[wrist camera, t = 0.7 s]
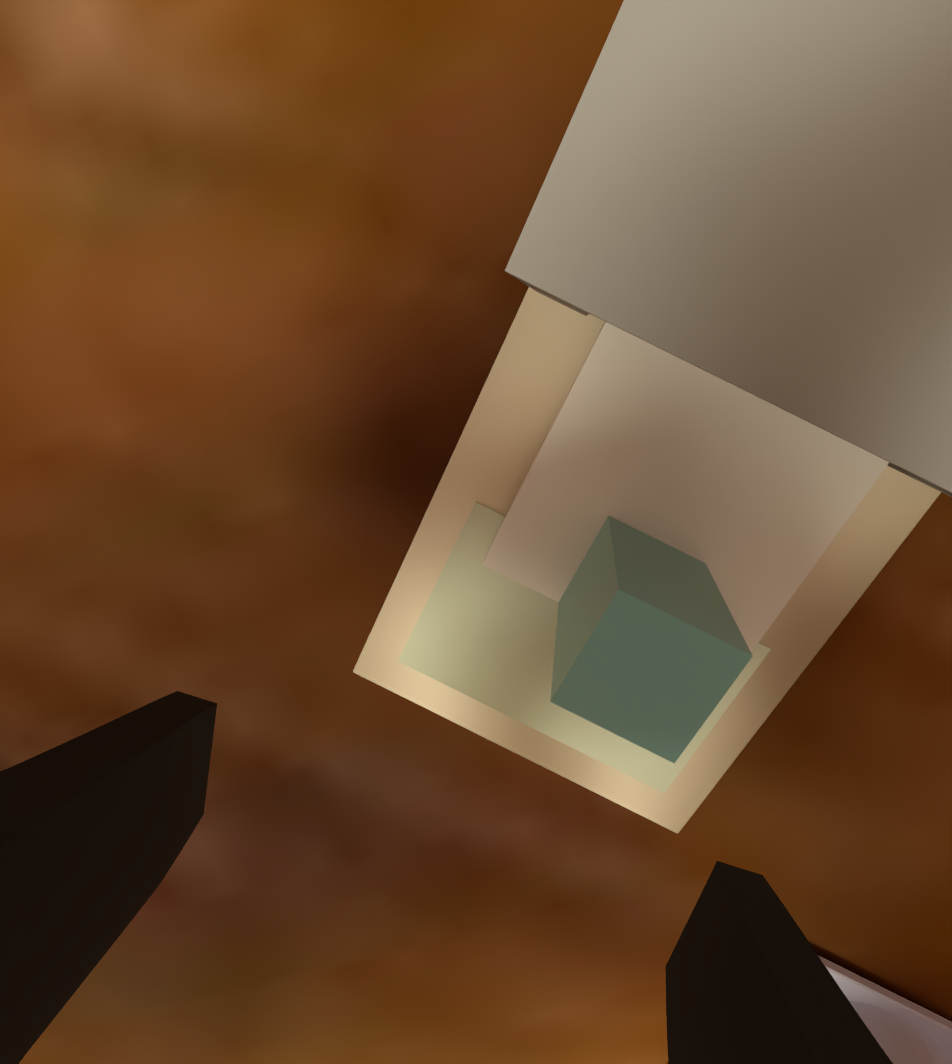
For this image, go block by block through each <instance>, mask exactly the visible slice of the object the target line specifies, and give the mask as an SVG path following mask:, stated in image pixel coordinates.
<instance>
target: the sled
mask: <svg viewBox="0 0 952 1064" xmlns="http://www.w3.org/2000/svg"><path fill="white" fill-rule="evenodd" d="M888 463H889V462H888V461H886V460H884V459H882V458H880V457H878V456H876V455H874V454H872V453H870V452H868V451H866V450H864V449H862V448H860V447H858V446H856V445H854V444H852V443H850V442H848V441H846V440H844V439H842V438H839V437H837V436H835V435H833V434H831V433H829V432H827V431H825V430H823V429H821V428H819V427H817V426H815V425H813V424H811V423H809V422H807V421H805V420H803V419H801V418H799V417H797V416H795V415H793V414H791V413H789V412H787V411H785V410H783V409H781V408H779V407H777V406H775V405H773V404H771V403H769V402H767V401H765V400H763V399H761V398H759V397H757V396H755V395H753V394H751V393H749V392H747V391H745V390H743V389H741V388H739V387H737V386H735V385H733V384H731V383H729V382H727V381H724V380H722V379H720V378H718V377H716V376H714V375H712V374H710V373H708V372H706V371H704V370H702V369H700V368H698V367H696V366H694V365H692V364H690V363H688V362H686V361H684V360H682V359H680V358H678V357H676V356H674V355H672V354H670V353H668V352H666V351H664V350H662V349H660V348H658V347H656V346H654V345H652V344H650V343H648V342H646V341H644V340H642V339H640V338H638V337H636V336H634V335H632V334H630V333H628V332H626V331H624V330H622V329H620V328H618V327H616V326H614V325H612V324H609V323H607V322H604V324H603V326H602V328H601V330H600V332H599V334H598V336H597V338H596V340H595V342H594V344H593V345H592V347H591V349H590V351H589V353H588V355H587V357H586V359H585V361H584V363H583V365H582V367H581V369H580V371H579V373H578V375H577V377H576V379H575V381H574V383H573V385H572V387H571V389H570V391H569V393H568V395H567V397H566V398H565V400H564V402H563V404H562V406H561V408H560V410H559V412H558V414H557V416H556V418H555V420H554V422H553V424H552V426H551V428H550V430H549V432H548V434H547V436H546V438H545V440H544V442H543V444H542V446H541V448H540V450H539V451H538V453H537V455H536V457H535V459H534V461H533V463H532V465H531V467H530V469H529V471H528V473H527V475H526V477H525V479H524V481H523V483H522V485H521V487H520V489H519V491H518V493H517V495H516V497H515V499H514V501H513V503H512V505H511V506H510V508H509V510H508V512H507V514H506V516H505V518H504V520H503V522H502V524H501V526H500V528H499V530H498V532H497V534H496V536H495V538H494V540H493V542H492V544H491V546H490V548H489V550H488V552H487V554H486V556H485V559H484V561H483V563H482V565H484V566H486V567H488V568H490V569H492V570H494V571H496V572H498V573H500V574H502V575H504V576H506V577H508V578H510V579H512V580H514V581H517V582H519V583H521V584H523V585H525V586H527V587H529V588H531V589H533V590H535V591H537V592H539V593H541V594H543V595H545V596H547V597H549V598H551V599H553V600H555V601H557V602H559V603H558V615H557V627H556V639H555V651H554V662H553V674H552V686H551V698H550V702H552V703H554V704H556V705H558V706H560V707H562V708H564V709H566V710H568V711H570V712H572V713H574V714H576V715H578V716H580V717H582V718H584V719H586V720H588V721H590V722H592V723H594V724H596V725H598V726H600V727H602V728H604V729H606V730H608V731H610V732H612V733H614V734H616V735H618V736H620V737H622V738H624V739H626V740H628V741H630V742H632V743H634V744H636V745H638V746H640V747H642V748H644V749H646V750H648V751H650V752H652V753H654V754H656V755H658V756H660V757H662V758H664V759H666V760H668V761H670V762H672V763H674V764H675V762H676V761H677V759H678V758H679V757H680V755H681V754H682V753H683V751H684V750H685V749H686V747H687V746H688V744H689V743H690V742H691V740H692V739H693V738H694V736H695V735H696V733H697V732H698V731H699V729H700V728H701V727H702V725H703V724H704V722H705V721H706V720H707V718H708V717H709V716H710V714H711V713H712V711H713V710H714V709H715V707H716V706H717V705H718V703H719V702H720V700H721V699H722V698H723V696H724V695H725V694H726V692H727V691H728V690H729V688H730V687H731V685H732V684H733V683H734V681H735V680H736V679H737V677H738V676H739V674H740V673H741V672H742V670H743V669H744V668H745V666H746V665H747V663H748V662H749V661H750V659H751V658H752V657H753V655H752V653H751V652H752V651H753V649H754V648H755V647H756V645H757V644H758V643H759V641H760V640H761V638H762V637H763V636H764V634H765V633H766V631H767V630H768V629H769V627H770V626H771V625H772V623H773V622H774V620H775V619H776V618H777V616H778V615H779V614H780V612H781V611H782V609H783V608H784V607H785V605H786V604H787V603H788V601H789V600H790V598H791V597H792V596H793V594H794V593H795V592H796V590H797V589H798V587H799V586H800V585H801V583H802V582H803V581H804V579H805V578H806V576H807V575H808V574H809V572H810V571H811V570H812V568H813V567H814V565H815V564H816V563H817V561H818V560H819V558H820V557H821V556H822V554H823V553H824V552H825V550H826V549H827V547H828V546H829V545H830V543H831V542H832V541H833V539H834V538H835V536H836V535H837V534H838V532H839V531H840V530H841V528H842V527H843V525H844V524H845V523H846V521H847V520H848V519H849V517H850V516H851V514H852V513H853V512H854V510H855V509H856V508H857V506H858V505H859V503H860V502H861V501H862V499H863V498H864V496H865V495H866V494H867V492H868V491H869V490H870V488H871V487H872V485H873V484H874V483H875V481H876V480H877V479H878V477H879V476H880V474H881V473H882V472H883V470H884V469H885V468H886V466H887V465H888Z"/></svg>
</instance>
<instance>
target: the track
mask: <svg viewBox="0 0 952 1064" xmlns="http://www.w3.org/2000/svg"><path fill="white" fill-rule="evenodd" d="M505 271H506V272H507V273H509V274H510V275H512V276H513V277H515V278H517V279H518V280H520V281H521V282H523V283H524V284H526V285H527V286H529V288H528V290H527V293H526V295H525V297H524V299H523V301H522V304H521V306H520V308H519V310H518V312H517V314H516V317H515V319H514V321H513V323H512V325H511V328H510V330H509V332H508V334H507V336H506V338H505V341H504V343H503V345H502V347H501V349H500V352H499V354H498V356H497V358H496V360H495V362H494V365H493V367H492V369H491V371H490V373H489V376H488V378H487V380H486V382H485V384H484V386H483V389H482V391H481V393H480V395H479V397H478V400H477V402H476V404H475V406H474V408H473V410H472V413H471V415H470V417H469V419H468V421H467V424H466V426H465V428H464V430H463V432H462V434H461V437H460V439H459V441H458V443H457V445H456V448H455V450H454V452H453V454H452V456H451V459H450V461H449V463H448V465H447V467H446V469H445V472H444V474H443V476H442V478H441V480H440V483H439V485H438V487H437V489H436V491H435V493H434V496H433V498H432V500H431V502H430V504H429V507H428V509H427V511H426V513H425V515H424V517H423V520H422V522H421V524H420V526H419V528H418V531H417V533H416V535H415V537H414V539H413V541H412V544H411V546H410V548H409V550H408V552H407V555H406V557H405V559H404V561H403V563H402V565H401V568H400V570H399V572H398V574H397V576H396V579H395V581H394V583H393V585H392V587H391V589H390V592H389V594H388V596H387V598H386V600H385V603H384V605H383V607H382V609H381V611H380V613H379V616H378V618H377V620H376V622H375V624H374V627H373V629H372V631H371V633H370V635H369V637H368V640H367V642H366V644H365V646H364V648H363V651H362V653H361V655H360V657H359V659H358V662H357V664H356V666H355V668H354V670H353V672H354V673H356V674H358V675H360V676H362V677H364V678H366V679H368V680H370V681H372V682H374V683H376V684H378V685H380V686H382V687H384V688H386V689H388V690H390V691H392V692H394V693H396V694H398V695H400V696H402V697H404V698H406V699H408V700H410V701H412V702H414V703H416V704H418V705H420V706H422V707H424V708H426V709H428V710H430V711H432V712H434V713H436V714H438V715H440V716H442V717H444V718H446V719H448V720H450V721H452V722H454V723H456V724H458V725H460V726H462V727H464V728H466V729H468V730H470V731H472V732H474V733H476V734H478V735H480V736H482V737H484V738H486V739H489V740H491V741H493V742H495V743H497V744H499V745H501V746H503V747H505V748H507V749H509V750H511V751H513V752H515V753H517V754H519V755H521V756H523V757H525V758H527V759H529V760H531V761H533V762H535V763H537V764H539V765H541V766H543V767H545V768H547V769H549V770H551V771H553V772H555V773H557V774H559V775H561V776H563V777H565V778H567V779H569V780H571V781H573V782H575V783H577V784H579V785H581V786H583V787H585V788H587V789H589V790H591V791H593V792H595V793H597V794H599V795H601V796H603V797H605V798H607V799H609V800H611V801H613V802H615V803H617V804H619V805H621V806H623V807H625V808H627V809H629V810H631V811H633V812H635V813H637V814H639V815H641V816H643V817H645V818H647V819H649V820H651V821H653V822H655V823H657V824H659V825H661V826H663V827H665V828H667V829H669V830H671V831H673V832H675V833H677V834H678V833H679V831H680V830H681V829H682V828H683V826H684V825H685V824H686V822H687V821H688V820H689V818H690V817H691V816H692V815H693V813H694V812H695V811H696V809H697V808H698V807H699V806H700V804H701V803H702V802H703V800H704V799H705V798H706V796H707V795H708V794H709V793H710V791H711V790H712V789H713V787H714V786H715V785H716V783H717V782H718V781H719V780H720V778H721V777H722V776H723V774H724V773H725V772H726V771H727V769H728V768H729V767H730V765H731V764H732V763H733V761H734V760H735V759H736V758H737V756H738V755H739V754H740V752H741V751H742V750H743V748H744V747H745V746H746V745H747V743H748V742H749V741H750V739H751V738H752V737H753V736H754V734H755V733H756V732H757V730H758V729H759V728H760V726H761V725H762V724H763V723H764V721H765V720H766V719H767V717H768V716H769V715H770V714H771V712H772V711H773V710H774V708H775V707H776V706H777V704H778V703H779V702H780V701H781V699H782V698H783V697H784V695H785V694H786V693H787V691H788V690H789V689H790V688H791V686H792V685H793V684H794V682H795V681H796V680H797V679H798V677H799V676H800V675H801V673H802V672H803V671H804V669H805V668H806V667H807V666H808V664H809V663H810V662H811V660H812V659H813V658H814V656H815V655H816V654H817V653H818V651H819V650H820V649H821V647H822V646H823V645H824V644H825V642H826V641H827V640H828V638H829V637H830V636H831V634H832V633H833V632H834V631H835V629H836V628H837V627H838V625H839V624H840V623H841V621H842V620H843V619H844V618H845V616H846V615H847V614H848V612H849V611H850V610H851V609H852V607H853V606H854V605H855V603H856V602H857V601H858V599H859V598H860V597H861V596H862V594H863V593H864V592H865V590H866V589H867V588H868V586H869V585H870V584H871V583H872V581H873V580H874V579H875V577H876V576H877V575H878V574H879V572H880V571H881V570H882V568H883V567H884V566H885V564H886V563H887V562H888V561H889V559H890V558H891V557H892V555H893V554H894V553H895V551H896V550H897V549H898V548H899V546H900V545H901V544H902V542H903V541H904V540H905V539H906V537H907V536H908V535H909V533H910V532H911V531H912V529H913V528H914V527H915V526H916V524H917V523H918V522H919V520H920V519H921V518H922V516H923V515H924V514H925V513H926V511H927V510H928V509H929V507H930V506H931V505H932V504H933V502H934V501H935V500H936V498H937V497H938V496H939V494H940V493H941V492H942V493H944V494H946V495H948V496H951V497H952V0H624V1H623V4H622V6H621V8H620V10H619V13H618V15H617V17H616V20H615V22H614V24H613V26H612V29H611V31H610V33H609V35H608V38H607V40H606V42H605V45H604V47H603V49H602V51H601V54H600V56H599V58H598V60H597V63H596V65H595V67H594V69H593V72H592V74H591V76H590V79H589V81H588V83H587V85H586V88H585V90H584V92H583V94H582V97H581V99H580V101H579V103H578V106H577V108H576V110H575V113H574V115H573V117H572V119H571V122H570V124H569V126H568V128H567V131H566V133H565V135H564V138H563V140H562V142H561V144H560V147H559V149H558V151H557V153H556V156H555V158H554V160H553V162H552V165H551V167H550V169H549V172H548V174H547V176H546V178H545V181H544V183H543V185H542V187H541V190H540V192H539V194H538V197H537V199H536V201H535V203H534V206H533V208H532V210H531V212H530V215H529V217H528V219H527V221H526V224H525V226H524V228H523V231H522V233H521V235H520V237H519V240H518V242H517V244H516V246H515V249H514V251H513V253H512V255H511V258H510V260H509V262H508V265H507V267H506V269H505ZM604 322H607V323H609V324H612V325H614V326H616V327H618V328H620V329H622V330H624V331H626V332H628V333H630V334H632V335H634V336H636V337H638V338H640V339H642V340H644V341H646V342H648V343H650V344H652V345H654V346H656V347H658V348H660V349H662V350H664V351H666V352H668V353H670V354H672V355H674V356H676V357H678V358H680V359H682V360H684V361H686V362H688V363H690V364H692V365H694V366H696V367H698V368H700V369H702V370H704V371H706V372H708V373H710V374H712V375H714V376H716V377H718V378H720V379H722V380H724V381H727V382H729V383H731V384H733V385H735V386H737V387H739V388H741V389H743V390H745V391H747V392H749V393H751V394H753V395H755V396H757V397H759V398H761V399H763V400H765V401H767V402H769V403H771V404H773V405H775V406H777V407H779V408H781V409H783V410H785V411H787V412H789V413H791V414H793V415H795V416H797V417H799V418H801V419H803V420H805V421H807V422H809V423H811V424H813V425H815V426H817V427H819V428H821V429H823V430H825V431H827V432H829V433H831V434H833V435H835V436H837V437H839V438H842V439H844V440H846V441H848V442H850V443H852V444H854V445H856V446H858V447H860V448H862V449H864V450H866V451H868V452H870V453H872V454H874V455H876V456H878V457H880V458H882V459H884V460H886V461H888V462H889V463H888V465H887V466H886V468H885V469H884V470H883V472H882V473H881V474H880V476H879V477H878V479H877V480H876V481H875V483H874V484H873V485H872V487H871V488H870V490H869V491H868V492H867V494H866V495H865V496H864V498H863V499H862V501H861V502H860V503H859V505H858V506H857V508H856V509H855V510H854V512H853V513H852V514H851V516H850V517H849V519H848V520H847V521H846V523H845V524H844V525H843V527H842V528H841V530H840V531H839V532H838V534H837V535H836V536H835V538H834V539H833V541H832V542H831V543H830V545H829V546H828V547H827V549H826V550H825V552H824V553H823V554H822V556H821V557H820V558H819V560H818V561H817V563H816V564H815V565H814V567H813V568H812V570H811V571H810V572H809V574H808V575H807V576H806V578H805V579H804V581H803V582H802V583H801V585H800V586H799V587H798V589H797V590H796V592H795V593H794V594H793V596H792V597H791V598H790V600H789V601H788V603H787V604H786V605H785V607H784V608H783V609H782V611H781V612H780V614H779V615H778V616H777V618H776V619H775V620H774V622H773V623H772V625H771V626H770V627H769V629H768V630H767V631H766V633H765V634H764V636H763V637H762V638H761V640H760V641H759V643H758V644H757V645H756V647H755V648H754V649H753V651H752V652H751V653H752V655H753V657H752V658H751V659H750V661H749V662H748V663H747V665H746V666H745V668H744V669H743V670H742V672H741V673H740V674H739V676H738V677H737V679H736V680H735V681H734V683H733V684H732V685H731V687H730V688H729V690H728V691H727V692H726V694H725V695H724V696H723V698H722V699H721V700H720V702H719V703H718V705H717V706H716V707H715V709H714V710H713V711H712V713H711V714H710V716H709V717H708V718H707V720H706V721H705V722H704V724H703V725H702V727H701V728H700V729H699V731H698V732H697V733H696V735H695V736H694V738H693V739H692V740H691V742H690V743H689V744H688V746H687V747H686V749H685V750H684V751H683V753H682V754H681V755H680V757H679V758H678V759H677V761H676V762H675V764H674V763H672V762H670V761H668V760H666V759H664V758H662V757H660V756H658V755H656V754H654V753H652V752H650V751H648V750H646V749H644V748H642V747H640V746H638V745H636V744H634V743H632V742H630V741H628V740H626V739H624V738H622V737H620V736H618V735H616V734H614V733H612V732H610V731H608V730H606V729H604V728H602V727H600V726H598V725H596V724H594V723H592V722H590V721H588V720H586V719H584V718H582V717H580V716H578V715H576V714H574V713H572V712H570V711H568V710H566V709H564V708H562V707H560V706H558V705H556V704H554V703H552V702H550V698H551V686H552V674H553V662H554V651H555V639H556V627H557V615H558V603H559V602H557V601H555V600H553V599H551V598H549V597H547V596H545V595H543V594H541V593H539V592H537V591H535V590H533V589H531V588H529V587H527V586H525V585H523V584H521V583H519V582H517V581H514V580H512V579H510V578H508V577H506V576H504V575H502V574H500V573H498V572H496V571H494V570H492V569H490V568H488V567H486V566H484V565H482V563H483V561H484V559H485V556H486V554H487V552H488V550H489V548H490V546H491V544H492V542H493V540H494V538H495V536H496V534H497V532H498V530H499V528H500V526H501V524H502V522H503V520H504V518H505V516H506V514H507V512H508V510H509V508H510V506H511V505H512V503H513V501H514V499H515V497H516V495H517V493H518V491H519V489H520V487H521V485H522V483H523V481H524V479H525V477H526V475H527V473H528V471H529V469H530V467H531V465H532V463H533V461H534V459H535V457H536V455H537V453H538V451H539V450H540V448H541V446H542V444H543V442H544V440H545V438H546V436H547V434H548V432H549V430H550V428H551V426H552V424H553V422H554V420H555V418H556V416H557V414H558V412H559V410H560V408H561V406H562V404H563V402H564V400H565V398H566V397H567V395H568V393H569V391H570V389H571V387H572V385H573V383H574V381H575V379H576V377H577V375H578V373H579V371H580V369H581V367H582V365H583V363H584V361H585V359H586V357H587V355H588V353H589V351H590V349H591V347H592V345H593V344H594V342H595V340H596V338H597V336H598V334H599V332H600V330H601V328H602V326H603V324H604Z"/></svg>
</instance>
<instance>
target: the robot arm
mask: <svg viewBox="0 0 952 1064" xmlns="http://www.w3.org/2000/svg"><path fill="white" fill-rule="evenodd" d="M216 707H217V703H214V702H210V701H207V700H204V699H201V698H198V697H195V696H191V695H188V694H185V693H182V692H179V691H177V692H174V693H172V694H170V695H167V696H165V697H163V698H160V699H158V700H156V701H154V702H152V703H149V704H147V705H145V706H143V707H141V708H139V709H137V710H134V711H132V712H130V713H128V714H126V715H124V716H122V717H120V718H117V719H115V720H113V721H111V722H109V723H107V724H105V725H103V726H100V727H98V728H96V729H94V730H92V731H90V732H88V733H85V734H83V735H81V736H79V737H77V738H74V739H72V740H70V741H68V742H66V743H63V744H61V745H59V746H57V747H55V748H52V749H50V750H48V751H46V752H44V753H41V754H39V755H37V756H35V757H33V758H30V759H28V760H26V761H24V762H22V763H19V764H17V765H15V766H13V767H10V768H8V769H5V770H3V771H1V772H0V1064H19V1062H20V1061H21V1060H22V1058H23V1057H24V1056H25V1054H26V1053H27V1052H28V1050H29V1049H30V1048H31V1047H32V1045H33V1044H34V1043H35V1042H36V1040H37V1039H38V1038H39V1037H40V1035H41V1034H42V1033H43V1032H44V1030H45V1029H46V1028H47V1026H48V1025H49V1024H50V1023H51V1021H52V1020H53V1019H54V1018H55V1016H56V1015H57V1014H58V1013H59V1011H60V1010H61V1009H62V1008H63V1006H64V1005H65V1004H66V1002H67V1001H68V1000H69V999H70V997H71V996H72V995H73V994H74V992H75V991H76V990H77V989H78V987H79V986H80V985H81V984H82V982H83V981H84V980H85V979H86V977H87V976H88V975H89V973H90V972H91V971H92V970H93V968H94V967H95V966H96V965H97V963H98V962H99V961H100V960H101V958H102V957H103V956H104V955H105V953H106V952H107V951H108V949H109V948H110V947H111V946H112V944H113V943H114V942H115V941H116V939H117V938H118V937H119V936H120V934H121V933H122V932H123V930H124V929H125V928H126V927H127V925H128V924H129V923H130V922H131V920H132V919H133V918H134V916H135V915H136V914H137V913H138V911H139V910H140V909H141V907H142V906H143V905H144V904H145V902H146V901H147V900H148V898H149V897H150V896H151V895H152V893H153V892H154V891H155V889H156V888H157V887H158V885H159V884H160V883H161V881H162V880H163V878H164V877H165V875H166V873H167V872H168V870H169V869H170V867H171V866H172V864H173V863H174V861H175V859H176V858H177V856H178V855H179V853H180V852H181V850H182V848H183V847H184V845H185V844H186V842H187V840H188V839H189V837H190V835H191V834H192V832H193V831H194V829H195V827H196V826H197V824H198V822H199V821H200V819H201V817H202V816H203V813H204V805H205V797H206V789H207V780H208V772H209V764H210V756H211V748H212V740H213V732H214V724H215V716H216ZM666 1014H667V1040H668V1058H669V1064H952V1022H951V1021H949V1020H947V1019H945V1018H943V1017H941V1016H939V1015H937V1014H935V1013H933V1012H931V1011H929V1010H927V1009H925V1008H923V1007H921V1006H919V1005H917V1004H915V1003H913V1002H911V1001H909V1000H907V999H905V998H903V997H901V996H899V995H897V994H895V993H893V992H891V991H889V990H887V989H885V988H883V987H881V986H879V985H877V984H875V983H873V982H871V981H869V980H867V979H865V978H863V977H861V976H859V975H857V974H855V973H853V972H851V971H849V970H847V969H845V968H843V967H841V966H839V965H837V964H835V963H833V962H831V961H829V960H827V959H825V958H823V957H821V956H819V955H817V953H816V952H815V950H814V949H813V948H812V946H811V945H810V943H809V942H808V940H807V939H806V937H805V936H804V934H803V933H802V931H801V930H800V928H799V927H798V925H797V924H796V922H795V921H794V920H793V918H792V917H791V915H790V914H789V912H788V911H787V909H786V908H785V906H784V905H783V903H782V902H781V901H780V899H779V898H778V896H777V895H776V893H775V892H774V891H773V889H772V888H771V886H770V885H769V884H768V882H767V881H766V880H765V878H764V877H763V875H760V874H757V873H754V872H750V871H747V870H744V869H741V868H738V867H734V866H731V865H728V864H725V863H722V862H719V861H717V863H716V865H715V867H714V869H713V871H712V873H711V875H710V877H709V879H708V881H707V883H706V885H705V887H704V889H703V891H702V893H701V895H700V897H699V899H698V901H697V903H696V905H695V908H694V910H693V912H692V914H691V916H690V918H689V920H688V922H687V924H686V926H685V928H684V930H683V932H682V934H681V936H680V938H679V940H678V942H677V944H676V946H675V948H674V950H673V953H672V955H671V957H670V959H669V961H668V963H667V965H666Z"/></svg>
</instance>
